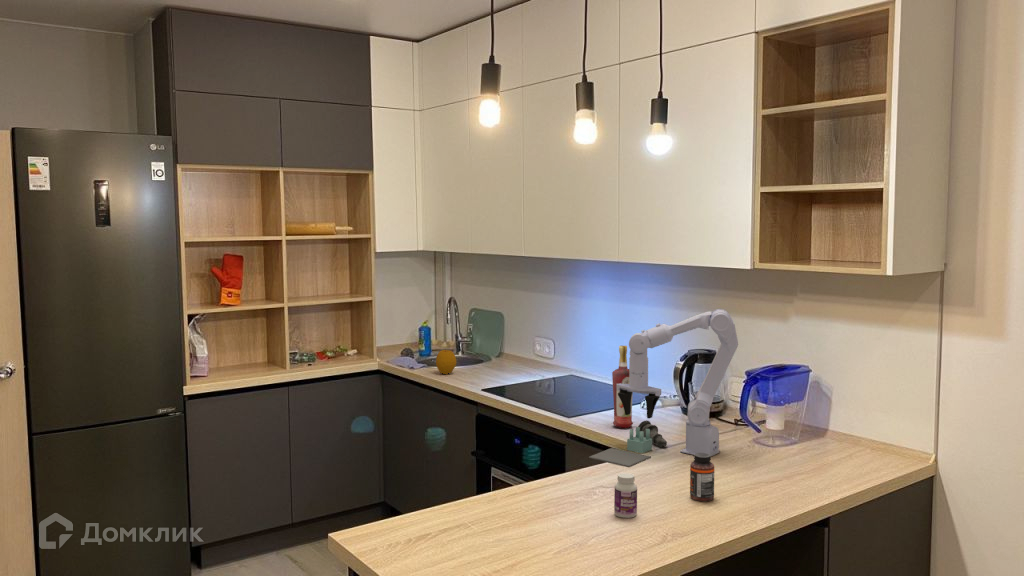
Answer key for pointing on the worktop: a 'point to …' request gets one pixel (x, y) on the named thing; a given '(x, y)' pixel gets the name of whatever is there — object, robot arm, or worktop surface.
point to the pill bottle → (625, 496)
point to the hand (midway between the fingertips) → (638, 416)
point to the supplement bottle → (702, 477)
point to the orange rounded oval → (445, 361)
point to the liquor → (619, 377)
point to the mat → (620, 457)
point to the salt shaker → (653, 433)
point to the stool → (639, 441)
